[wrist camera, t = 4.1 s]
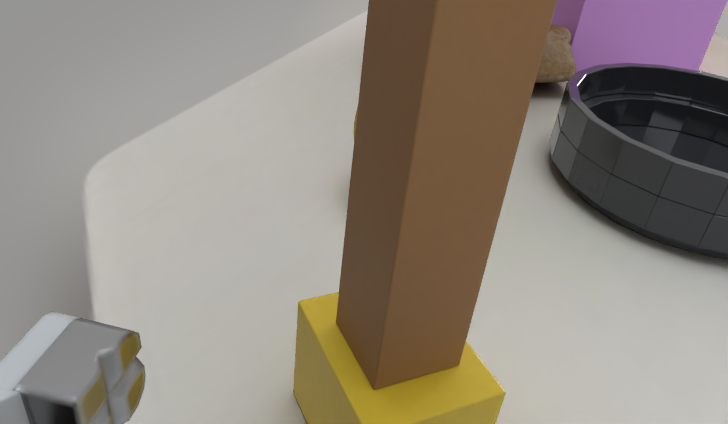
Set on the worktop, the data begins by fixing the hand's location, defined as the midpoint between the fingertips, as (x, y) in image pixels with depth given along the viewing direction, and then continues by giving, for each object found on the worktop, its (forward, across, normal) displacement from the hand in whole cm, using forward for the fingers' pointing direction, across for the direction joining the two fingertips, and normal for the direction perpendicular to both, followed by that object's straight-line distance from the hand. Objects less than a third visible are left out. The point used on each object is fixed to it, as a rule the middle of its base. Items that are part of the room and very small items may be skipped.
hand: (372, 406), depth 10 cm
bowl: (+26, -14, +8) cm, 31 cm away
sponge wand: (+6, 0, +8) cm, 10 cm away
